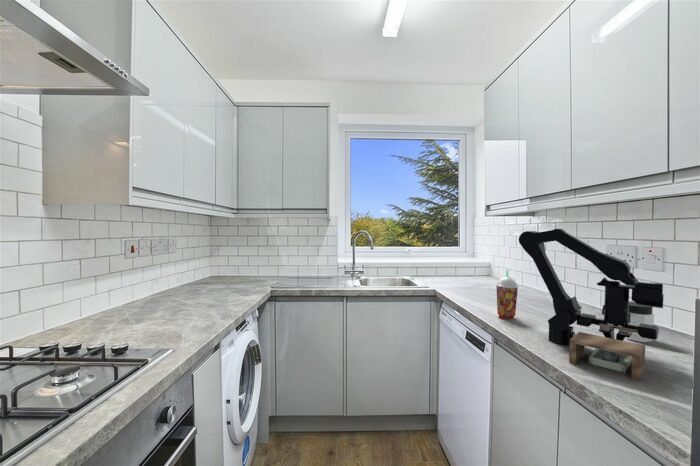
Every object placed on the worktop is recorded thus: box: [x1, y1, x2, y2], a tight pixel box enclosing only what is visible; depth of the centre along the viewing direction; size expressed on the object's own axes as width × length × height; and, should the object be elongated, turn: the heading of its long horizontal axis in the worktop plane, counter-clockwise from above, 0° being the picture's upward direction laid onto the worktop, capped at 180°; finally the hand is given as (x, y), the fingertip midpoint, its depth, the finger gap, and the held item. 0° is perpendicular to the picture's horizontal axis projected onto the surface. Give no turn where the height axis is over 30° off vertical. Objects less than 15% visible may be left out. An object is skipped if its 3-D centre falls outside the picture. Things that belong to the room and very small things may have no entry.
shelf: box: [568, 331, 646, 382], centre depth 92 cm, size 15×10×7 cm, turn 43°
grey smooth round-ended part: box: [601, 350, 617, 362], centre depth 93 cm, size 3×3×4 cm
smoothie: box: [495, 270, 519, 320], centre depth 142 cm, size 8×8×20 cm
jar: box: [624, 301, 655, 343], centre depth 117 cm, size 9×8×12 cm
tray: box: [588, 348, 632, 374], centre depth 95 cm, size 8×12×3 cm, turn 134°
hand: (614, 353), depth 101 cm, fingers closed
